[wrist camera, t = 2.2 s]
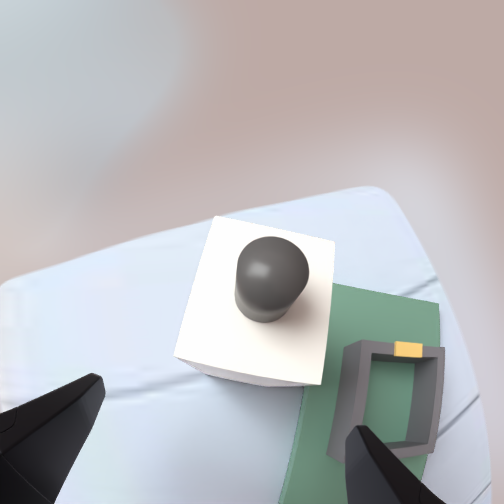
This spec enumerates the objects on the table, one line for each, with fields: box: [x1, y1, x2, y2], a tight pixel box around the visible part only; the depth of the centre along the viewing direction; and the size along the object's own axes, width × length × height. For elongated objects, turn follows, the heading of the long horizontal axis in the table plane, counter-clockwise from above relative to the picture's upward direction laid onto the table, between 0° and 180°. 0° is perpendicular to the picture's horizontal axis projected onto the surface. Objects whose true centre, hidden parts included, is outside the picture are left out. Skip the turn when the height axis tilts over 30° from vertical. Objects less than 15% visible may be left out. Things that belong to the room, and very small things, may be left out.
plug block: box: [174, 216, 335, 387], centre depth 13 cm, size 5×4×14 cm
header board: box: [279, 283, 445, 504], centre depth 16 cm, size 18×12×4 cm, turn 169°
